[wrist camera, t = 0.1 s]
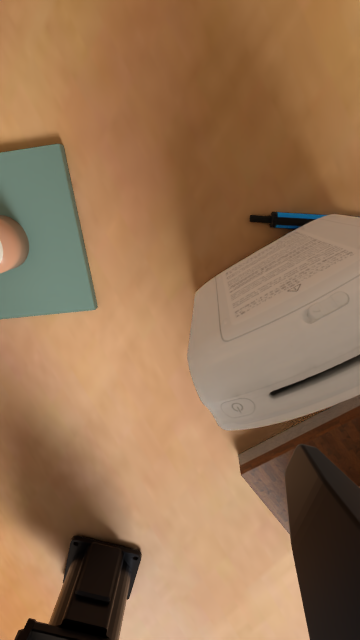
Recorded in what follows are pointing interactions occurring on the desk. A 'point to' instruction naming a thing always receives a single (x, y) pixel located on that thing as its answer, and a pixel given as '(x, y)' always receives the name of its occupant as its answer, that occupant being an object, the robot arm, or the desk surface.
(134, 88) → the desk surface
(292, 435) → the white coffee grinder
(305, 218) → the pen
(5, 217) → the beige short cylinder
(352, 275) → the photo printer
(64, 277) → the mat
